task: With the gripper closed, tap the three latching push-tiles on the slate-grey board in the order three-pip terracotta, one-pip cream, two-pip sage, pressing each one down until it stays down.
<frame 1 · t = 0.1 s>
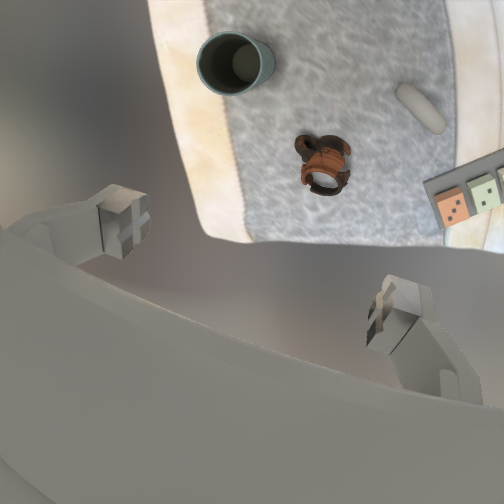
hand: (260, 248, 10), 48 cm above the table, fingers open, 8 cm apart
board: (477, 186, 46), on the table
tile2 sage: (484, 193, 43), point 4 cm above the table, slide at 0.0 cm
green cylindrical pot: (253, 63, 49), on the table
donut: (415, 104, 44), on the table
tile3 terracotta: (452, 207, 47), point 4 cm above the table, slide at 0.0 cm
brown rounded piece: (323, 156, 55), on the table
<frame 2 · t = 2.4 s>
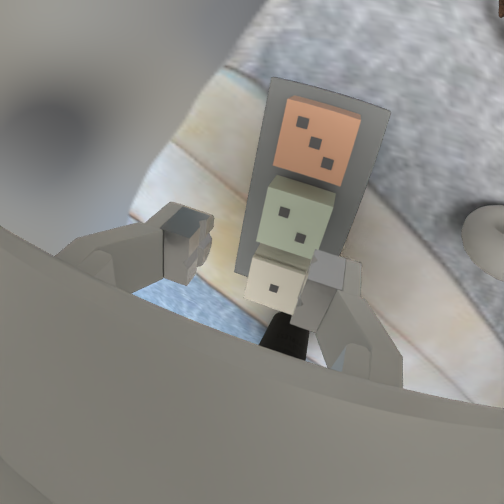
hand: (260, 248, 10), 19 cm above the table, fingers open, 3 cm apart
board: (303, 199, 29), on the table
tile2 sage: (295, 217, 26), point 4 cm above the table, slide at 0.0 cm
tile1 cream: (277, 279, 30), point 4 cm above the table, slide at 0.0 cm
donut: (493, 213, 23), on the table
drinking cup: (291, 323, 39), on the table
tile3 terracotta: (317, 138, 22), point 4 cm above the table, slide at 0.0 cm
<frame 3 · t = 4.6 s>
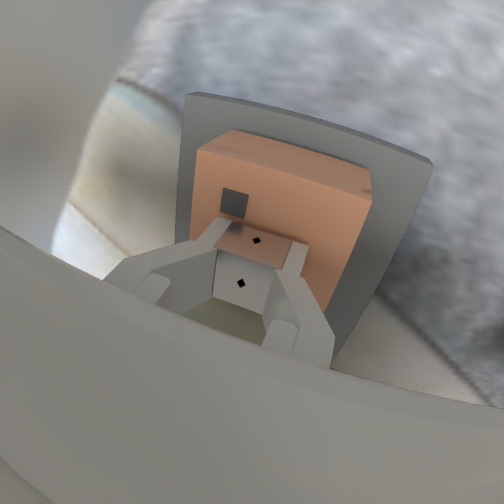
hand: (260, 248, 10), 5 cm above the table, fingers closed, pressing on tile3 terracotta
board: (261, 304, 18), on the table
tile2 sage: (238, 355, 15), point 4 cm above the table, slide at 0.0 cm
tile3 terracotta: (274, 226, 11), point 3 cm above the table, slide at -0.8 cm, touching gripper
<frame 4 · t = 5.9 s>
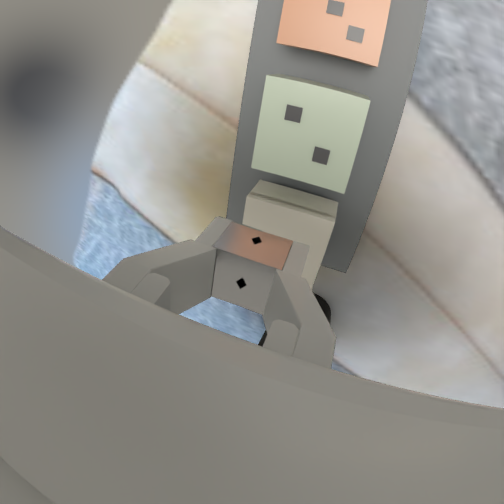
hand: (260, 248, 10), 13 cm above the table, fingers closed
board: (318, 118, 19), on the table
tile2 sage: (311, 129, 16), point 4 cm above the table, slide at 0.0 cm
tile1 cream: (286, 235, 20), point 4 cm above the table, slide at 0.0 cm
tile3 terracotta: (336, 12, 12), point 3 cm above the table, slide at -0.9 cm
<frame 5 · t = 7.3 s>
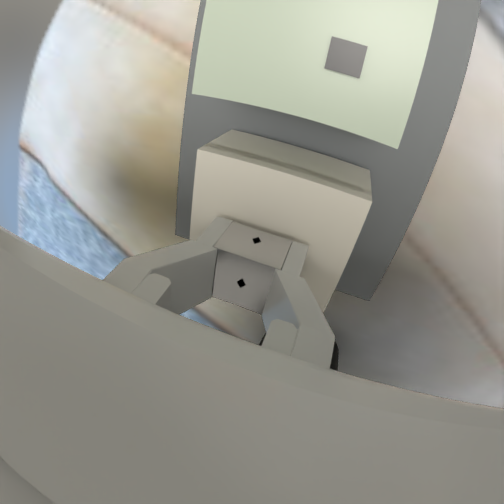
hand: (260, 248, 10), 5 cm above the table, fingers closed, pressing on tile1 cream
board: (331, 35, 9), on the table
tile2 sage: (320, 20, 6), point 4 cm above the table, slide at 0.0 cm
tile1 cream: (274, 226, 11), point 3 cm above the table, slide at -0.8 cm, touching gripper
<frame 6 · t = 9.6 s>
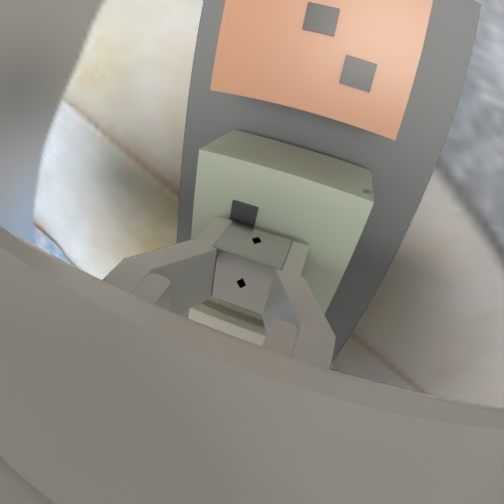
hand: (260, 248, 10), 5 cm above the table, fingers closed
board: (294, 192, 14), on the table
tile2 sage: (276, 227, 11), point 3 cm above the table, slide at -0.7 cm
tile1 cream: (246, 341, 15), point 3 cm above the table, slide at -0.9 cm
tile3 terracotta: (326, 25, 7), point 3 cm above the table, slide at -0.9 cm
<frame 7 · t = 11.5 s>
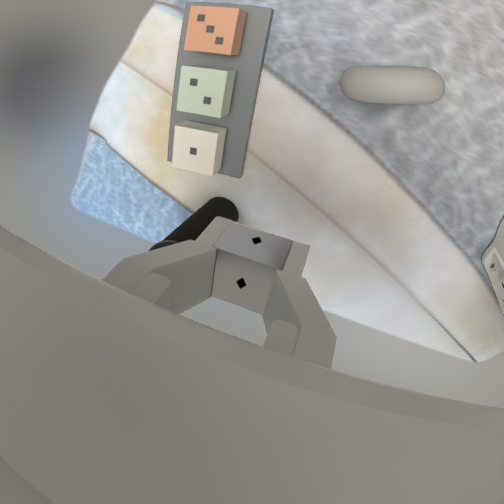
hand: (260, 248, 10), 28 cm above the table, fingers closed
board: (215, 87, 33), on the table
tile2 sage: (205, 89, 31), point 3 cm above the table, slide at -0.9 cm
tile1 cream: (198, 147, 35), point 3 cm above the table, slide at -0.9 cm
donut: (385, 80, 28), on the table
drinking cup: (222, 212, 43), on the table
tile3 terracotta: (215, 29, 26), point 3 cm above the table, slide at -0.9 cm
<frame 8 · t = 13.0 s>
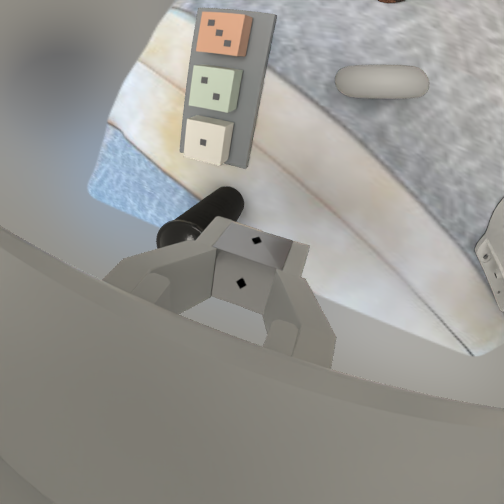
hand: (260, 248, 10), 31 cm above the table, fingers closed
board: (224, 85, 36), on the table
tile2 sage: (215, 87, 34), point 3 cm above the table, slide at -0.9 cm
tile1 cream: (207, 139, 38), point 3 cm above the table, slide at -0.9 cm
donut: (378, 79, 31), on the table
drinking cup: (228, 200, 46), on the table
tile3 terracotta: (224, 33, 30), point 3 cm above the table, slide at -0.9 cm
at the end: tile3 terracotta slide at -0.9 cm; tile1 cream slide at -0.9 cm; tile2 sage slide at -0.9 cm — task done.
